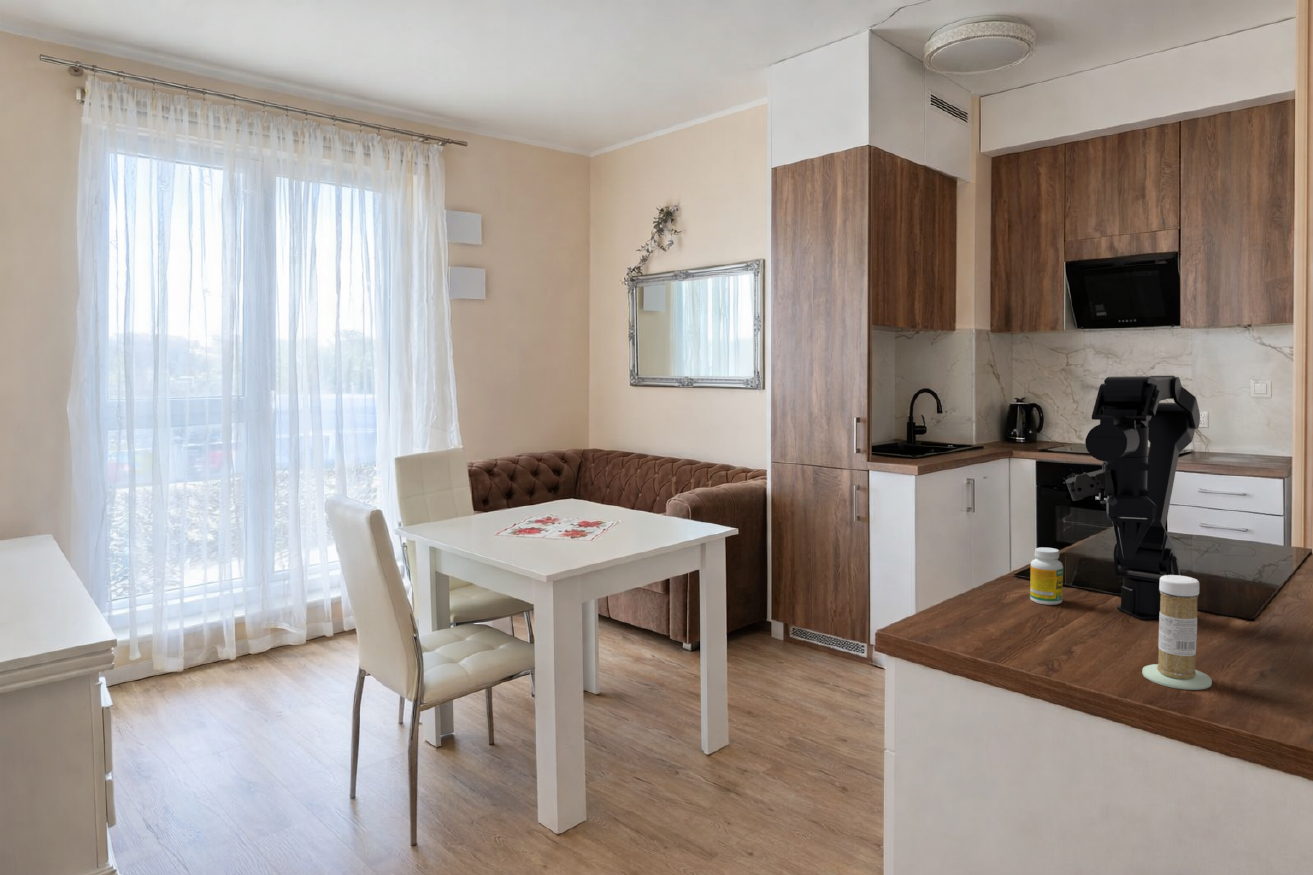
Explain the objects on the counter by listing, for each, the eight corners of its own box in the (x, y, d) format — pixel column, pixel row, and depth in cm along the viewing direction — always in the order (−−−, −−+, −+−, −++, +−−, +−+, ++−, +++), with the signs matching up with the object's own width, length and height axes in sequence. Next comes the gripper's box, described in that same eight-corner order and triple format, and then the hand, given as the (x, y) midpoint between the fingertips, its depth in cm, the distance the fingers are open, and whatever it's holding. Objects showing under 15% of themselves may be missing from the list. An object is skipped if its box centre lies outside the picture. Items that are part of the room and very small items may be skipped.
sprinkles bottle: (1191, 669, 112) (1194, 575, 111) (1199, 682, 108) (1203, 583, 107) (1153, 666, 114) (1156, 572, 112) (1160, 677, 109) (1163, 581, 108)
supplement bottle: (1032, 595, 151) (1033, 545, 150) (1064, 599, 148) (1065, 548, 147) (1027, 602, 147) (1028, 551, 146) (1060, 606, 144) (1061, 554, 143)
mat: (1181, 665, 115) (1182, 662, 115) (1226, 687, 107) (1226, 684, 107) (1129, 669, 114) (1129, 665, 114) (1170, 691, 106) (1170, 687, 106)
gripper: (1066, 448, 139) (1065, 537, 140) (1072, 461, 122) (1070, 562, 123) (1141, 450, 134) (1139, 542, 136) (1158, 462, 118) (1155, 567, 119)
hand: (1124, 552), depth 129 cm, fingers open, 9 cm apart
